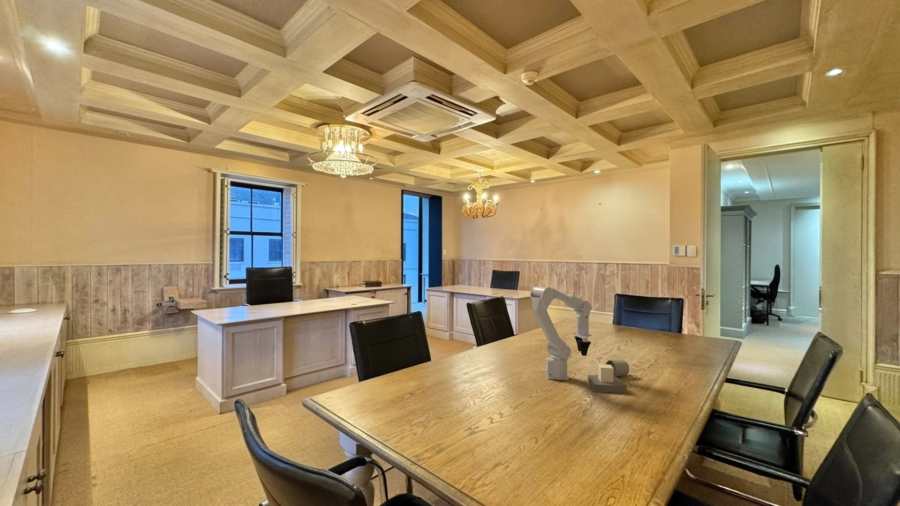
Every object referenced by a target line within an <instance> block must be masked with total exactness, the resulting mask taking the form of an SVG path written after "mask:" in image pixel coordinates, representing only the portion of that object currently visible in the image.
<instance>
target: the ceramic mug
mask: <svg viewBox="0 0 900 506" xmlns="http://www.w3.org/2000/svg"><path fill="white" fill-rule="evenodd" d="M605 365H611V366H612V367H613V376H616V377H617V378H618V377H624V376H627V375H628V374H629V373H630V366H629V364H628V362H627V361H625V360H624V359H608V360H607V361H606V362H605Z"/></svg>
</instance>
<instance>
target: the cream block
mask: <svg viewBox="0 0 900 506" xmlns="http://www.w3.org/2000/svg"><path fill="white" fill-rule="evenodd" d="M597 371H598V372H597V375H598V378H599V380H600V381H601V382H613V367H612V366H611V365H606V364H600V363H599V364H597Z"/></svg>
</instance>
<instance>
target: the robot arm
mask: <svg viewBox="0 0 900 506" xmlns="http://www.w3.org/2000/svg"><path fill="white" fill-rule="evenodd" d="M529 297H530V299H531V304H532V311H533V314H534V315H535V317H536V320H537V322H538V323H539V325H540V328H541V329H542V331H543V333H544V335H545V338H546V340H547V341H546V343H545V344H546V347H547V349H546V350H547V352H548V354H549V357H546V359H545V376H546V378H547V379H548V380H560V381H569V380H570V378H569V376H568V360H569V358H570V357H571V354H572V350H571V347H570V346H569V345H567V343H566V342H565V341H564V340H563V338H562V337H560V335H559V333H558V331H557V329H556V327H555V325H554V322H553V320H552V318H551V316H550V315H549V313H548V310H547V309H548V308H549V307H550V304H551V303H552V302H553V300H555V299H556V300H558V301H561V302H562V303H564V306H566V307H568V308H570V309H573V310H574V311H575V321H576V322H575V335H574V340H575V342H576V346H577V350H578V352H580V353H581V354H580V355H581V356H582V357H583V356H585V357H587V355H588V351H589V348H590V346H591V344H592V341H590V340H589V337H592V334H590V333H589V331H590V329H589V328H590V327H589V325H590V324H589V323H590V320H589V319H590V315H591V311H592V308H593V306H592V304H591V303H590V302H589V300H584V299H583V298H582V297H577V296H576V294H573V293H571V294H565V293H563V292H561V291H559V290H558V289H555V288H553V287H550V286H539V285H534V286H533V287H532V288H531V289H530V293H529Z"/></svg>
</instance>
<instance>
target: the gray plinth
mask: <svg viewBox="0 0 900 506" xmlns="http://www.w3.org/2000/svg"><path fill="white" fill-rule="evenodd" d="M588 382H589V383H588ZM587 383H588V384H589V386H590V385H591V386H590V387H591V389H592V390H593V392H596V393H612V394H613V393H614V394H625V393H626V386H625V384H624V383H623V382H622V381H621V379H619V378H618V376H617V377H616V376H613V382H601V381H600V380H599V378H598V374H595V375H594V374H587Z"/></svg>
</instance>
